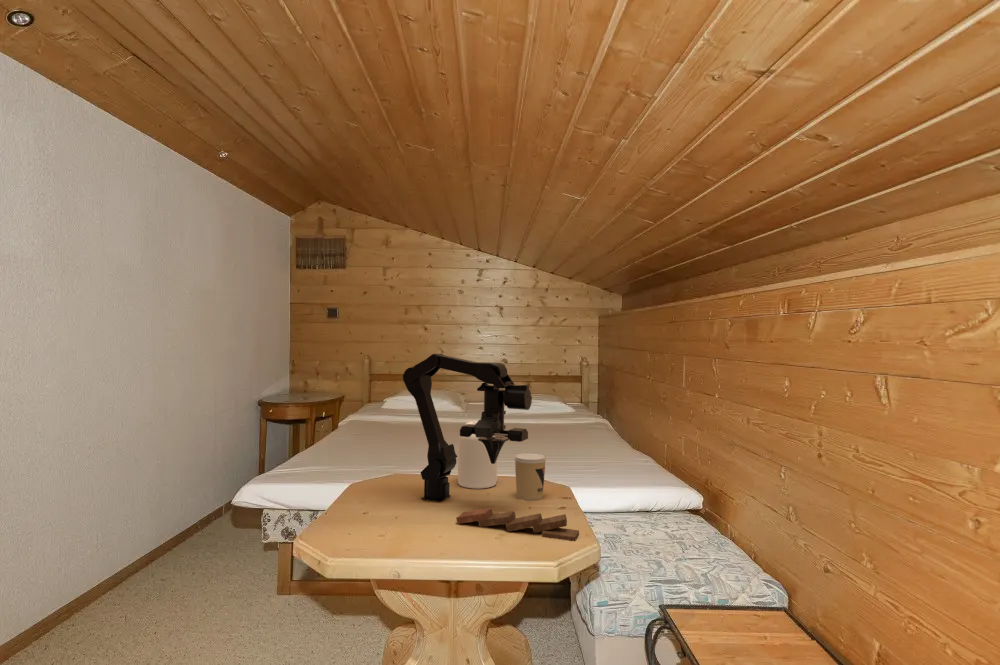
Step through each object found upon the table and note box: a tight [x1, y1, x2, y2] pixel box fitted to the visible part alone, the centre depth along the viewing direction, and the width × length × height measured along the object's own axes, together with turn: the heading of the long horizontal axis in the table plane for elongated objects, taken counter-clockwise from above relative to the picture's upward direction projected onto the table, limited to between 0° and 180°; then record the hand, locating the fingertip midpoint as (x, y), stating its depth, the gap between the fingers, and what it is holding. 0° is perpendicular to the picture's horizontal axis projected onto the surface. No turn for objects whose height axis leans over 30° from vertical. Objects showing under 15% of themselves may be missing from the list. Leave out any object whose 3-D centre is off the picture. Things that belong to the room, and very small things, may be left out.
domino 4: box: [532, 513, 568, 533], centre depth 139 cm, size 2×5×8 cm
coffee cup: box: [514, 452, 547, 501], centre depth 169 cm, size 9×9×12 cm
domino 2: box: [478, 510, 517, 528], centre depth 143 cm, size 2×5×8 cm
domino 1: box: [456, 507, 494, 525], centre depth 144 cm, size 2×5×8 cm
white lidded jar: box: [457, 420, 498, 490], centre depth 183 cm, size 12×12×20 cm
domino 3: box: [505, 512, 543, 533], centre depth 140 cm, size 2×5×8 cm
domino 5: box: [541, 527, 580, 542], centre depth 136 cm, size 2×5×8 cm
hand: (493, 463), depth 159 cm, fingers closed
